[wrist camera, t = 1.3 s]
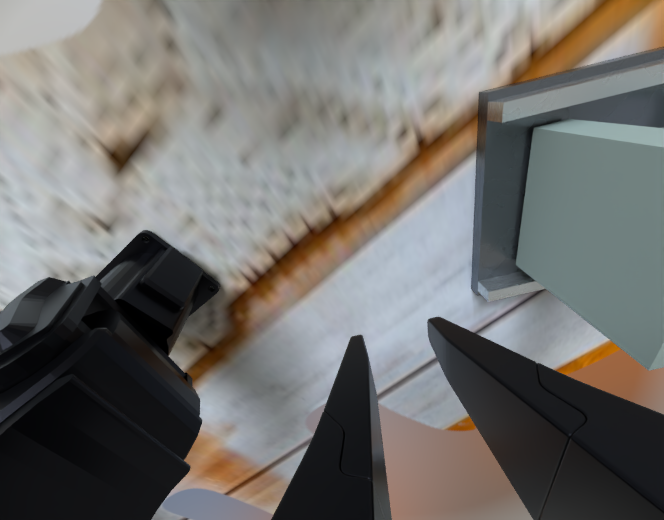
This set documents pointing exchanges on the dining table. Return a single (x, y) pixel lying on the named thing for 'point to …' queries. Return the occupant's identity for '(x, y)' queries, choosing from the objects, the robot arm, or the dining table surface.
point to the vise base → (515, 145)
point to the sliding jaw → (600, 228)
